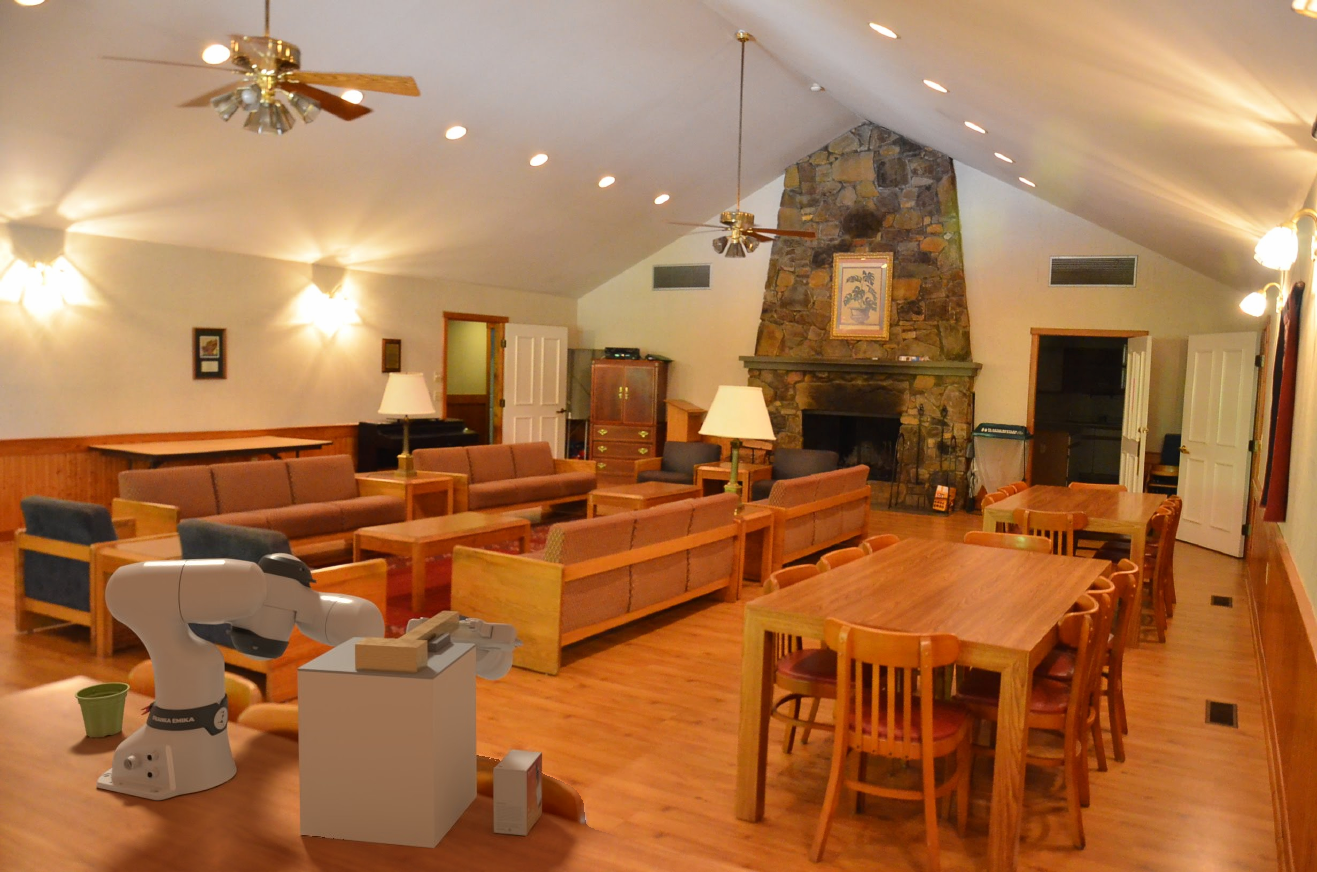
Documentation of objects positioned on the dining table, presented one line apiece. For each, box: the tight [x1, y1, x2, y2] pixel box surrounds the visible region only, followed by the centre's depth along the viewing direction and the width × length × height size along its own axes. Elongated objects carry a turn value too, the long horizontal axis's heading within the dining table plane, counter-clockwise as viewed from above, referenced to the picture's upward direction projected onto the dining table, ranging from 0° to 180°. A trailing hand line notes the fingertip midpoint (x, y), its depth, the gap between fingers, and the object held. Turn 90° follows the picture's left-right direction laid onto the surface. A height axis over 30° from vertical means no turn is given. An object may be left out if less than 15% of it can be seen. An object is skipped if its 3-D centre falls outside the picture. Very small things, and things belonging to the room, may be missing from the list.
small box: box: [492, 749, 543, 836], centre depth 152 cm, size 8×6×10 cm
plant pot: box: [74, 682, 131, 738], centre depth 190 cm, size 9×9×9 cm
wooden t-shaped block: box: [355, 610, 460, 674], centre depth 158 cm, size 10×26×4 cm, turn 170°
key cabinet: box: [296, 633, 478, 849], centre depth 154 cm, size 22×18×28 cm
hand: (448, 623), depth 169 cm, fingers open, 8 cm apart
